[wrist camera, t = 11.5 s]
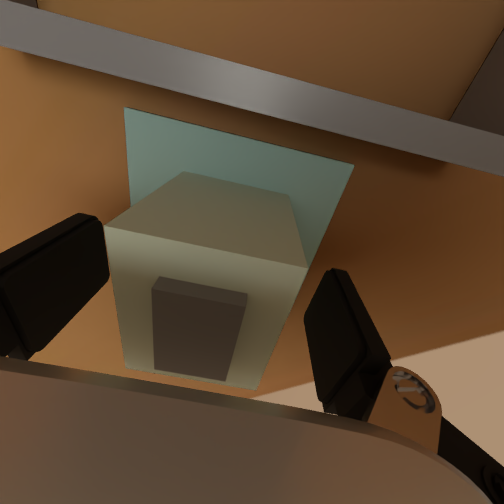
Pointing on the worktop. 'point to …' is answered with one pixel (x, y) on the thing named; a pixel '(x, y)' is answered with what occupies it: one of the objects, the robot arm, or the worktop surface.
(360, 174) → the worktop surface
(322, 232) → the mat
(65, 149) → the worktop surface
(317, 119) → the grey open box
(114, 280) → the block
